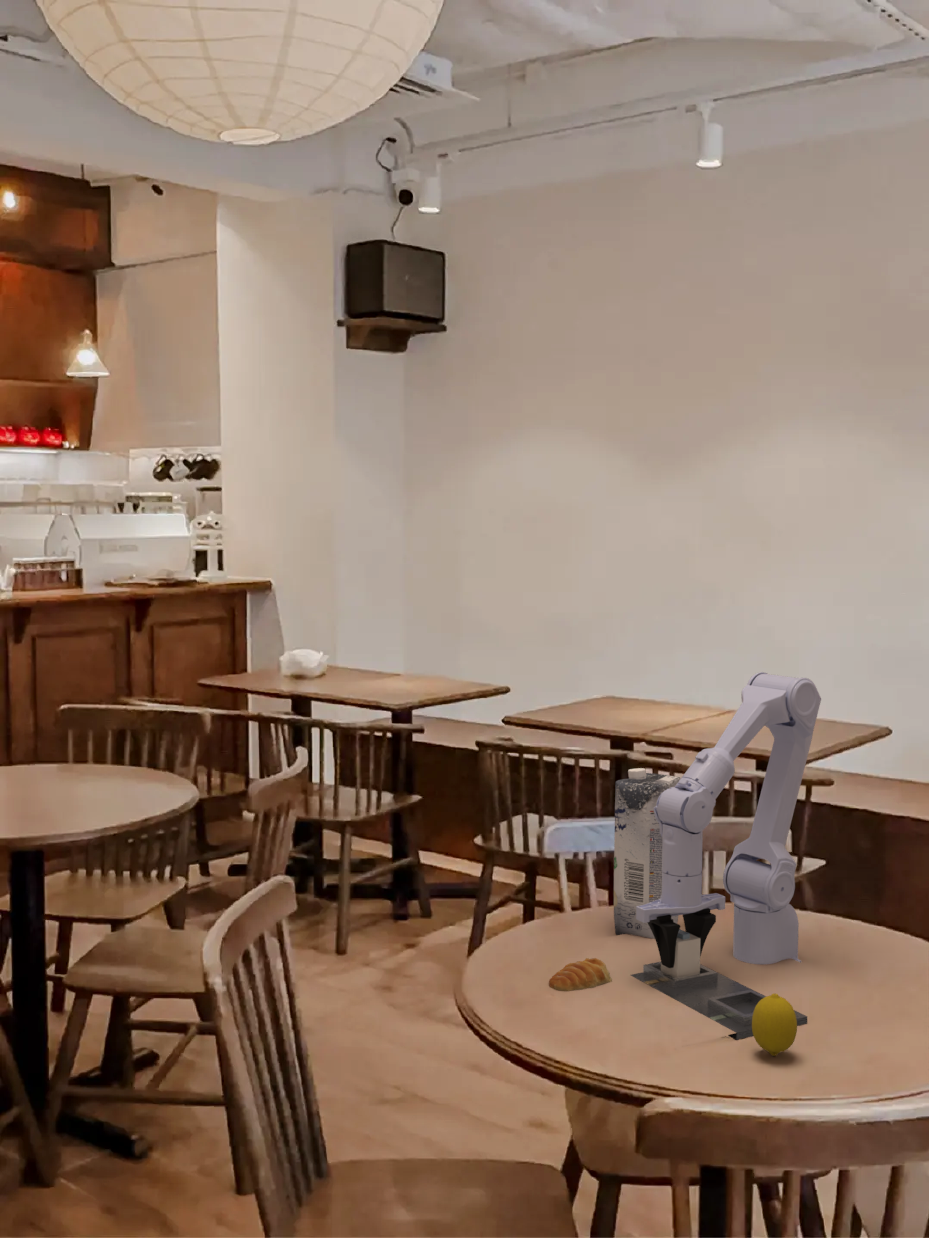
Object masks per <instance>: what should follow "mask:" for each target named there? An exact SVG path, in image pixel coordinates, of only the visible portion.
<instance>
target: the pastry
mask: <svg viewBox="0 0 929 1238" xmlns="http://www.w3.org/2000/svg"><path fill="white" fill-rule="evenodd" d="M612 982H613V978H612V977H611V974H610V971H609V970H608V968H607V965H606V964H605V962H603V961H602V960H601V959H599V958H596V957H594V958H589V957H588V958H587V957H586V958H585V959H584V960H582V961H581V960H580V961H576V962H570V963H568V964H565V966H564V967H563V968H562V969H560V970H559V971H557V972H556V973H555V974H554V975H552V976H551V977H550V978H549V981H548V986H549V988H550V989H553V990H555V991H560V992H572V991H580V990H581V991H582V990H586V989H593V988H596V987H598V986H602V985H605V984H608V983H612Z"/></svg>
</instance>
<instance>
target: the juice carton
mask: <svg viewBox="0 0 929 1238" xmlns="http://www.w3.org/2000/svg"><path fill="white" fill-rule="evenodd" d="M627 774H628V778H623V779H618V780H616V781H615V789H614V790H615V793H614V795H615V797H614V800H615V801H614V841H613V842H614V843H613V844H614V845H613V846H614V850H613V853H614V854H613V855H614V857H613V865H614V867H613V923H614V932H615V935H616V936H621V935H630V936H631V935H632V936H638V937H643V938H648V939H654V940H655V937H654V935H653V933H652V931H651V929H650V927H649V925H648V923H643V922H641V921H639V920H637V919H636V906H641V905H645V904H647V903H650V902H653V901H655V900H658V899H660V896H661V895H662V836H661V834H660V826H659V823H658V821H657V820H656V818H655V815H654V807H656V803H657V800H658V798H659V796H660V795H661V793H662V792H664V791H665V790H667V789H670V788H671V787H675V786H676V784H677V783H678V782H679V780H680V779H681V778H682V777H679V776H675V775H668V774H663V773H662V774H659V773H652V772H651V773H650V772H647V771H646V768H644V767H643V768H642V767H640V768H639V767H638V768H630V769H628V771H627ZM679 916H680V915H678V916H672V917H671V919H673V922H674V923H676V924H678V921H679Z"/></svg>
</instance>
